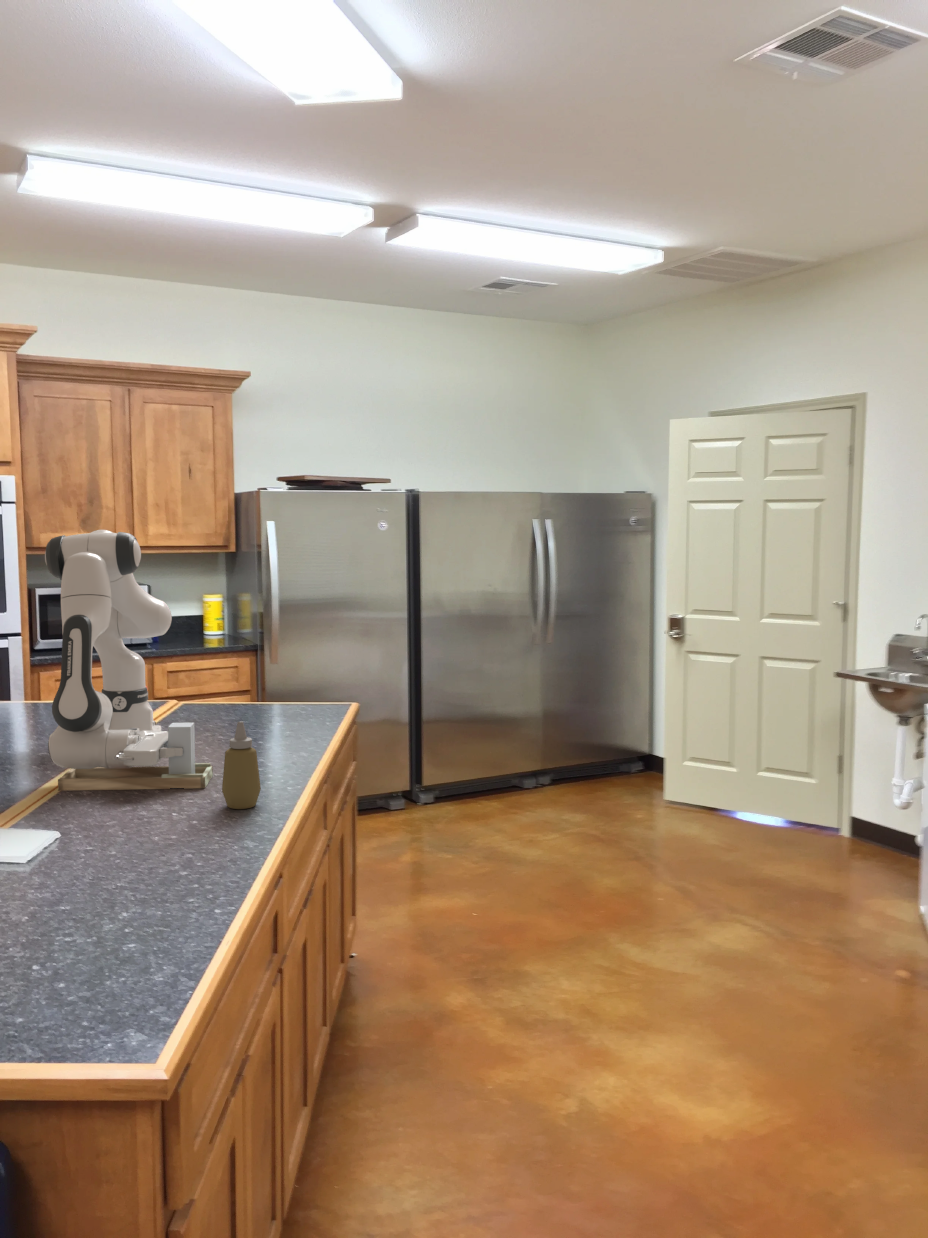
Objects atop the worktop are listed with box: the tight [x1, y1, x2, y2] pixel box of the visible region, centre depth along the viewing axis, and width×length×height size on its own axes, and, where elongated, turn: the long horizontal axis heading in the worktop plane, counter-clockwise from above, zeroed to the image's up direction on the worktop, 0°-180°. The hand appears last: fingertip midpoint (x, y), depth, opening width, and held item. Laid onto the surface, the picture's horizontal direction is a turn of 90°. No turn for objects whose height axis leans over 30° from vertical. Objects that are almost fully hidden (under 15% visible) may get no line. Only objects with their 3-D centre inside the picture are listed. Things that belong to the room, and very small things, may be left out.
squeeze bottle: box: [221, 721, 262, 810], centre depth 209 cm, size 8×8×18 cm
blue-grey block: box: [167, 722, 196, 774], centre depth 228 cm, size 5×5×12 cm
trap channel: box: [57, 762, 214, 792], centre depth 228 cm, size 11×32×3 cm, turn 95°
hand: (185, 748), depth 228 cm, fingers closed on blue-grey block, 5 cm apart
